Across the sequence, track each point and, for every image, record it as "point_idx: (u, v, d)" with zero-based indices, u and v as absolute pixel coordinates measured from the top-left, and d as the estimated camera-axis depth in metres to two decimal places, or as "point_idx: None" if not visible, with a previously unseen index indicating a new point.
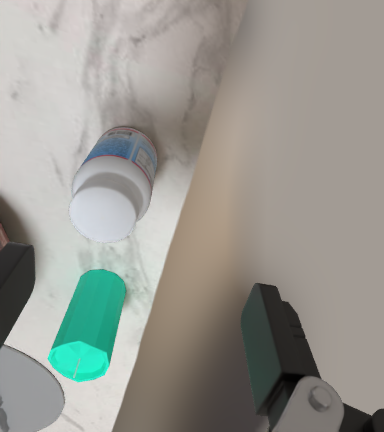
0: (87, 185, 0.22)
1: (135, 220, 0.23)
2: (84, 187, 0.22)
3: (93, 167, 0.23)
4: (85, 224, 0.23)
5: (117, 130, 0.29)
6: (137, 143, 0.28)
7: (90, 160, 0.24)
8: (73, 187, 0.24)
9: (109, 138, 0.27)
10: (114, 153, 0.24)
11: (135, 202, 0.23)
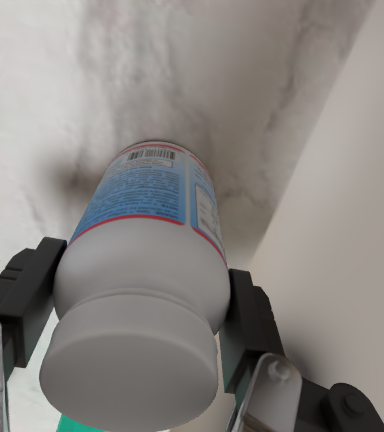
0: (88, 318, 0.08)
1: (214, 395, 0.09)
2: (80, 324, 0.08)
3: (104, 252, 0.09)
4: (84, 405, 0.09)
5: (146, 148, 0.15)
6: (188, 176, 0.14)
7: (96, 229, 0.10)
8: (54, 291, 0.10)
9: (134, 168, 0.13)
10: (151, 210, 0.10)
11: (213, 347, 0.09)
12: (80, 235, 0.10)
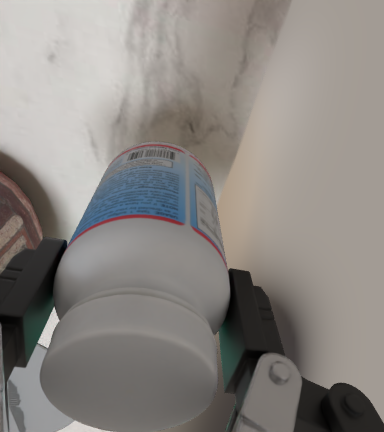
0: (88, 318, 0.08)
1: (214, 394, 0.09)
2: (80, 324, 0.08)
3: (104, 252, 0.09)
4: (84, 404, 0.09)
5: (146, 148, 0.15)
6: (188, 176, 0.14)
7: (96, 229, 0.10)
8: (54, 291, 0.10)
9: (134, 168, 0.13)
10: (151, 210, 0.10)
11: (213, 346, 0.09)
12: (80, 235, 0.10)
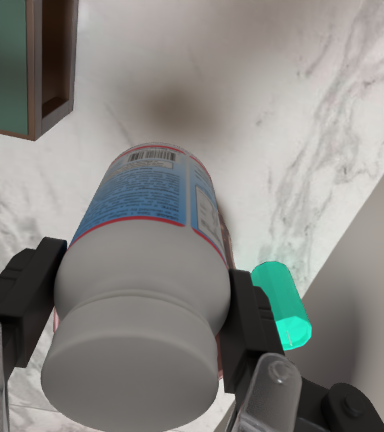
0: (89, 320, 0.08)
1: (214, 396, 0.09)
2: (81, 325, 0.08)
3: (105, 253, 0.09)
4: (85, 406, 0.09)
5: (146, 149, 0.15)
6: (189, 177, 0.14)
7: (97, 230, 0.10)
8: (55, 293, 0.10)
9: (135, 169, 0.13)
10: (152, 211, 0.11)
11: (214, 348, 0.09)
12: (81, 236, 0.10)
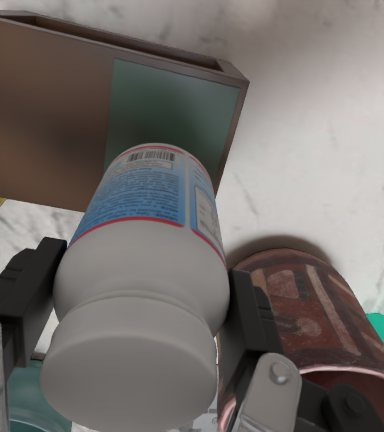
0: (88, 320, 0.08)
1: (213, 396, 0.09)
2: (79, 326, 0.08)
3: (103, 254, 0.09)
4: (84, 406, 0.09)
5: (145, 149, 0.15)
6: (188, 177, 0.14)
7: (96, 231, 0.10)
8: (54, 293, 0.10)
9: (134, 169, 0.13)
10: (151, 211, 0.10)
11: (213, 349, 0.09)
12: (80, 237, 0.10)
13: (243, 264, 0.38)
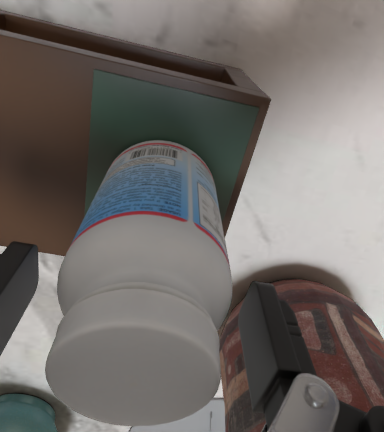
0: (93, 311, 0.08)
1: (217, 387, 0.09)
2: (85, 317, 0.08)
3: (108, 247, 0.09)
4: (89, 397, 0.09)
5: (148, 146, 0.15)
6: (191, 174, 0.14)
7: (100, 225, 0.10)
8: (59, 287, 0.10)
9: (137, 166, 0.14)
10: (154, 206, 0.11)
11: (216, 340, 0.09)
12: (84, 231, 0.10)
13: None
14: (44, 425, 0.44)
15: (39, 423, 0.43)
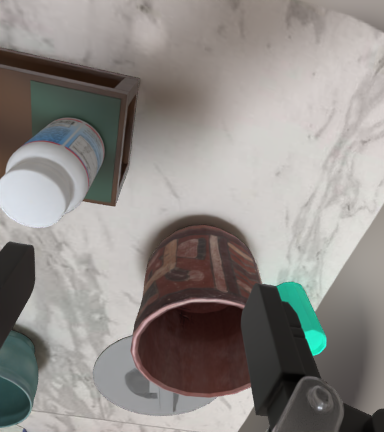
0: (12, 169, 0.22)
1: (64, 203, 0.23)
2: (9, 170, 0.22)
3: (23, 152, 0.23)
4: (14, 209, 0.23)
5: (60, 120, 0.29)
6: (77, 131, 0.28)
7: (22, 146, 0.24)
8: None
9: (49, 127, 0.28)
10: (47, 139, 0.25)
11: (64, 186, 0.23)
12: None
13: (166, 238, 0.47)
14: (24, 350, 0.57)
15: (20, 347, 0.57)
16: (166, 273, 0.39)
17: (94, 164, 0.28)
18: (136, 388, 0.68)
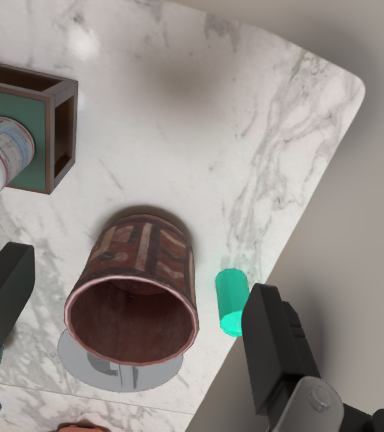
0: None
1: None
2: None
3: None
4: None
5: None
6: (2, 129, 0.33)
7: None
8: None
9: None
10: None
11: None
12: None
13: (110, 225, 0.52)
14: None
15: None
16: (99, 255, 0.44)
17: (16, 157, 0.33)
18: (97, 365, 0.74)
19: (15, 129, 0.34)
